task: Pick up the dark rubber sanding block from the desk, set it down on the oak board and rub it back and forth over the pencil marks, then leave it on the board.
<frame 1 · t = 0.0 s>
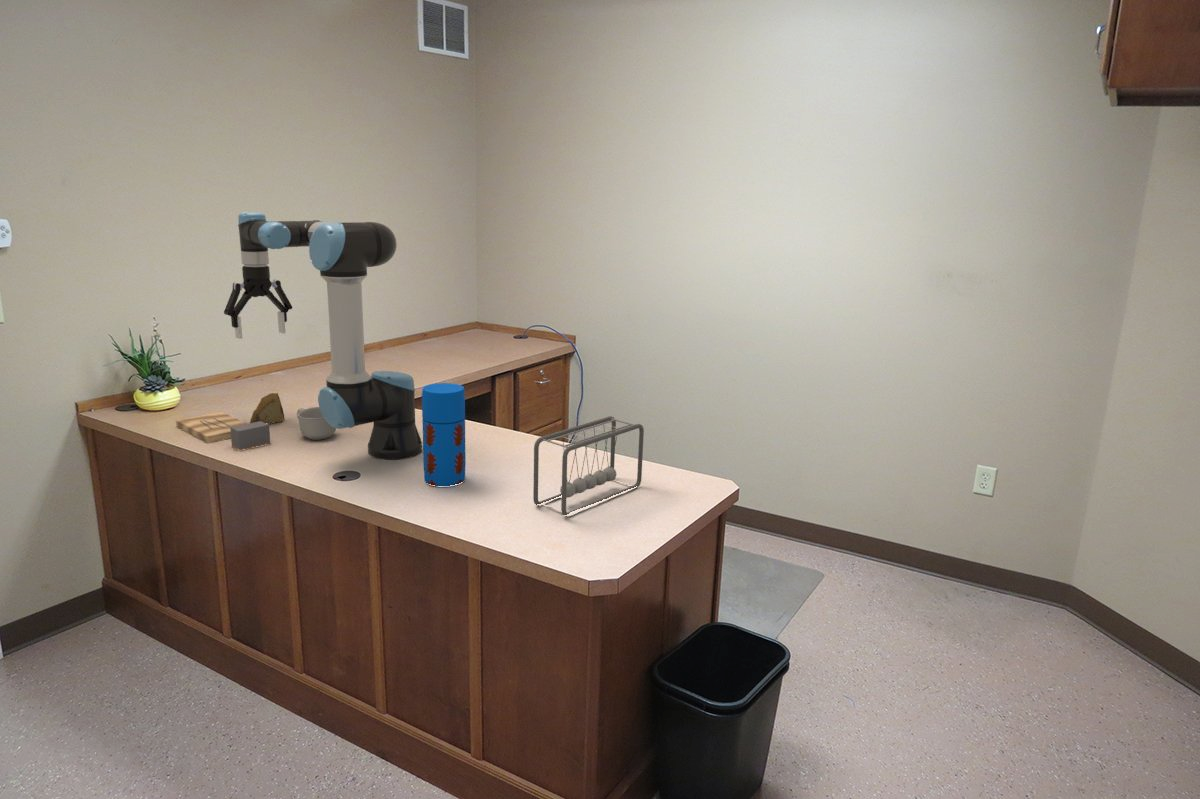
hand: (261, 335, 250), 28 cm above the table, tool pointing down, fingers open, 13 cm apart
newton's cradle: (589, 497, 207), on the table
sanding block: (251, 445, 237), on the table
teacup: (315, 436, 247), on the table
rock: (267, 423, 258), on the table
board: (215, 429, 249), on the table
thermos: (445, 480, 215), on the table
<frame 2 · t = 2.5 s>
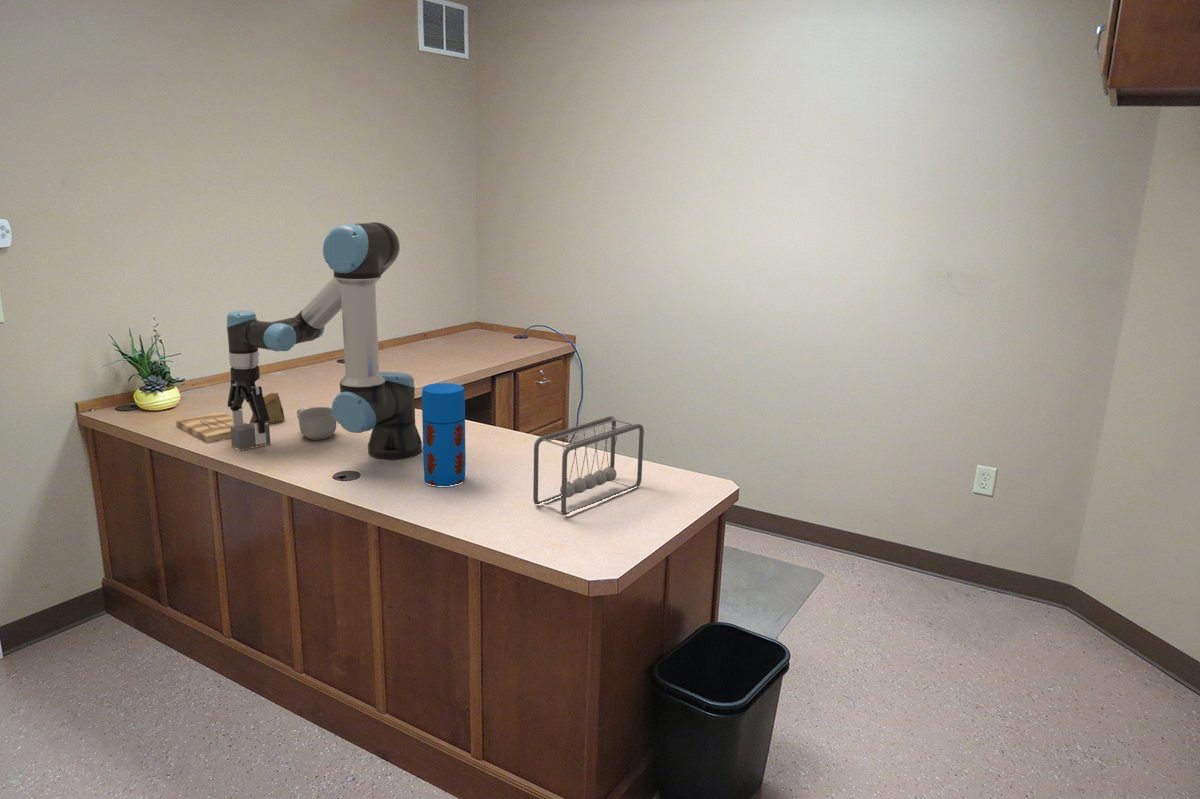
hand: (249, 437, 236), 2 cm above the table, tool pointing down, fingers open, 13 cm apart
nothing on the table moved.
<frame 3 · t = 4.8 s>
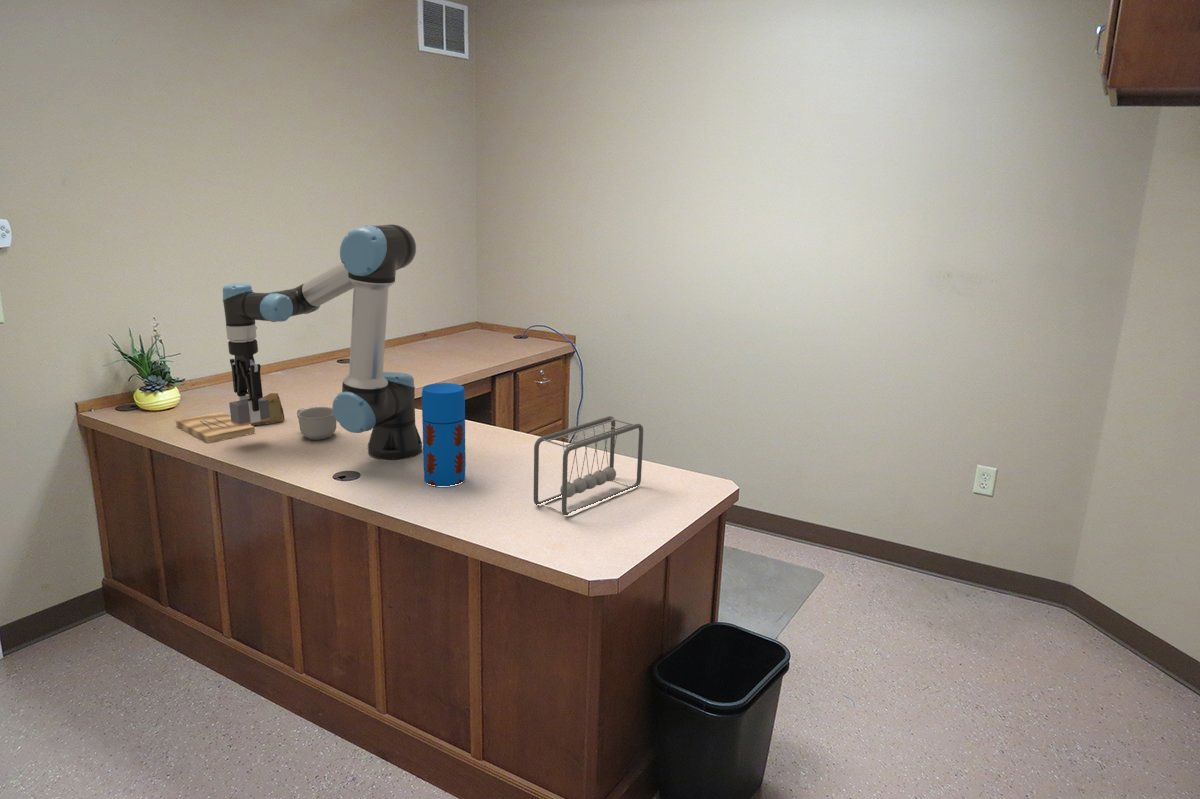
hand: (250, 419, 234), 8 cm above the table, tool pointing down, fingers closed on sanding block, 5 cm apart
sanding block: (251, 421, 234), point 7 cm above the table, touching gripper
everything else where it was.
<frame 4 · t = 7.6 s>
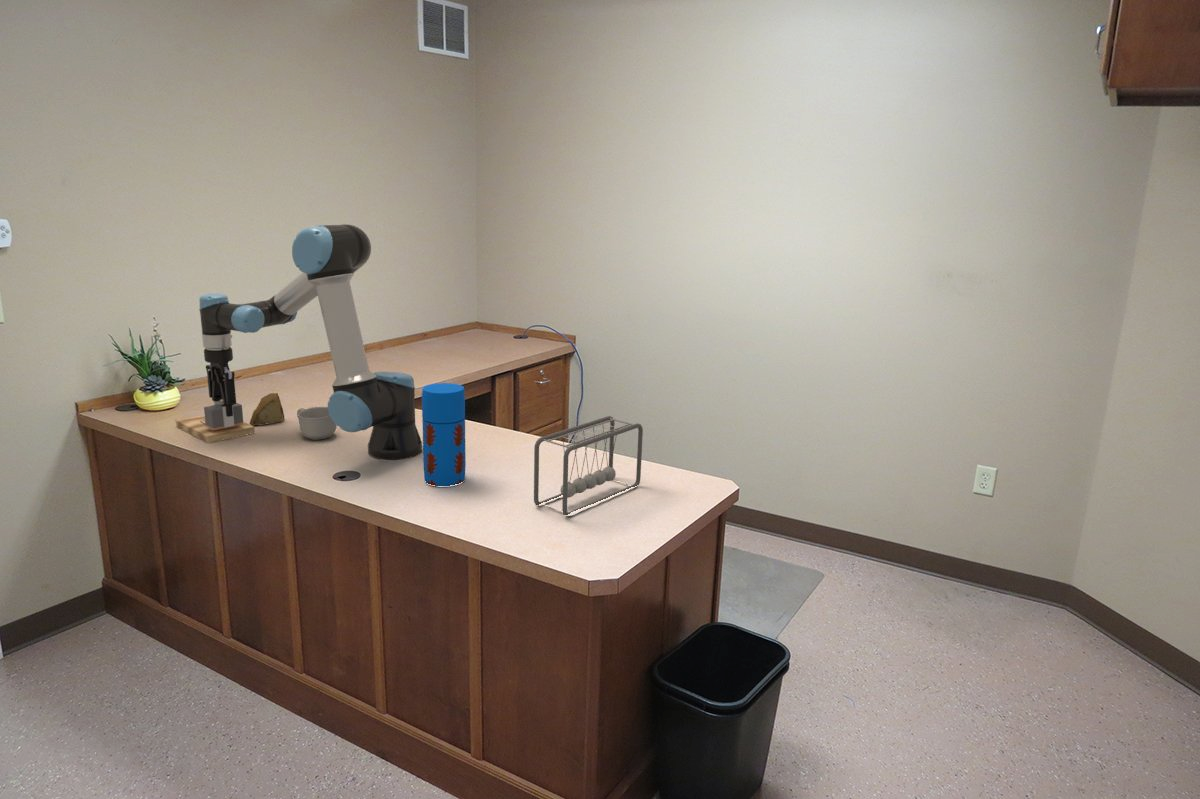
hand: (224, 424, 244), 3 cm above the table, tool pointing down, fingers closed on sanding block, 5 cm apart
sanding block: (224, 425, 244), point 3 cm above the table, touching gripper
everything else where it was.
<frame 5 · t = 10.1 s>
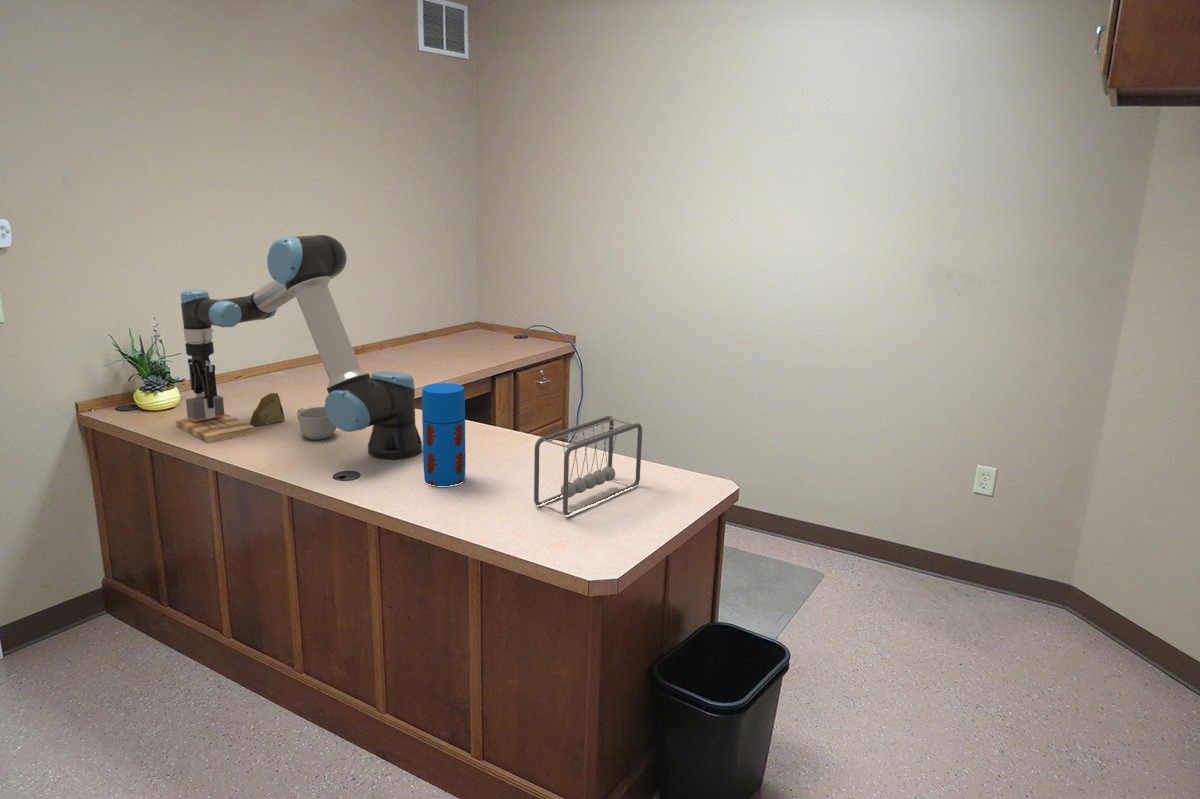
hand: (206, 415, 252), 3 cm above the table, tool pointing down, fingers closed on sanding block, 5 cm apart
sanding block: (206, 417, 252), point 3 cm above the table, touching gripper
everything else where it was.
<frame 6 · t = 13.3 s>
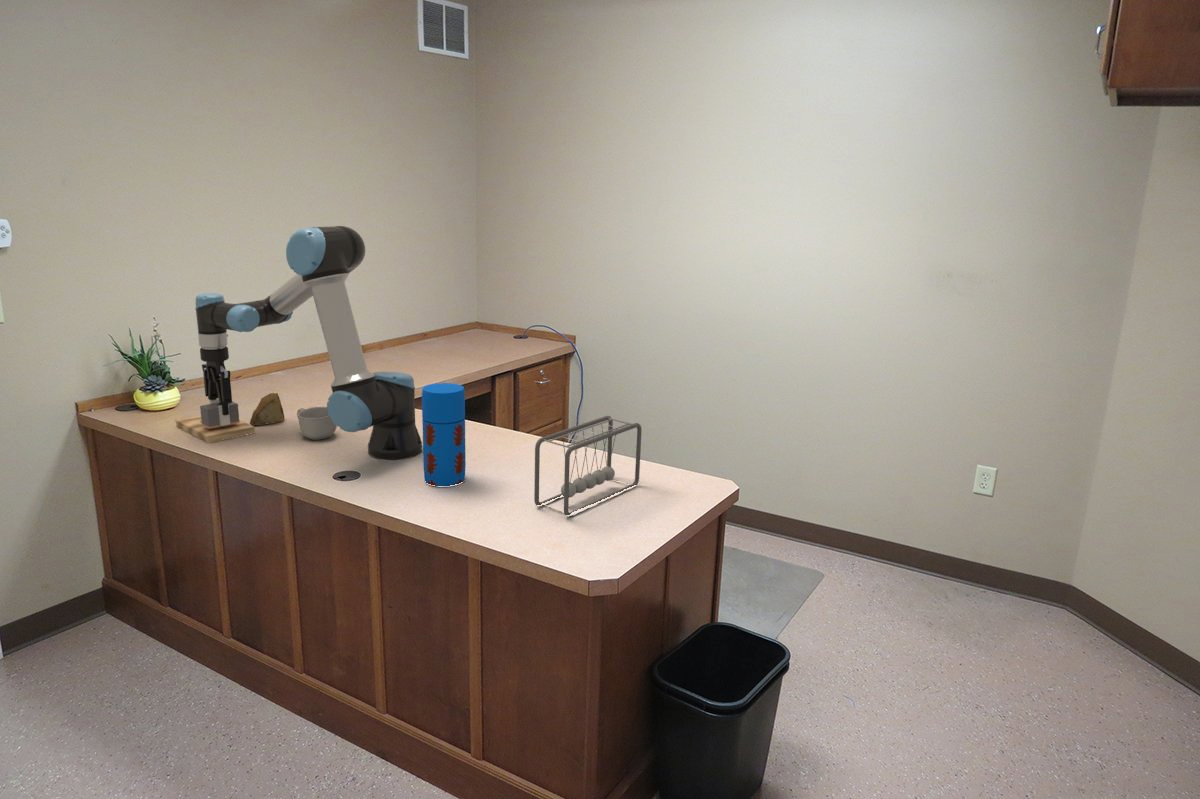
hand: (220, 422, 246), 3 cm above the table, tool pointing down, fingers closed on sanding block, 5 cm apart
sanding block: (220, 424, 246), point 3 cm above the table, touching gripper
everything else where it was.
when the fingers open (3 cm above the table, at t = 15.8 s): sanding block stays where it is, resting on board.
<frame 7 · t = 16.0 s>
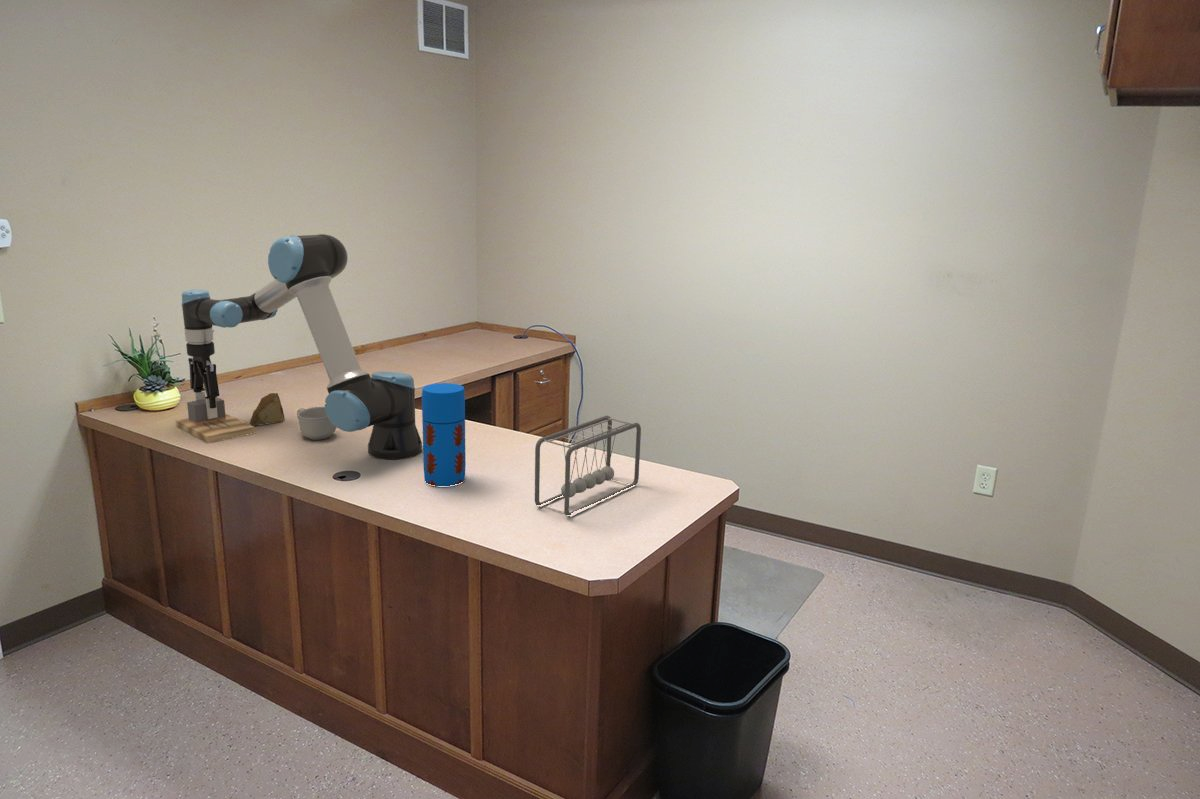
hand: (207, 415, 251), 4 cm above the table, tool pointing down, fingers open, 7 cm apart
sanding block: (207, 420, 252), point 2 cm above the table, touching board
everything else where it was.
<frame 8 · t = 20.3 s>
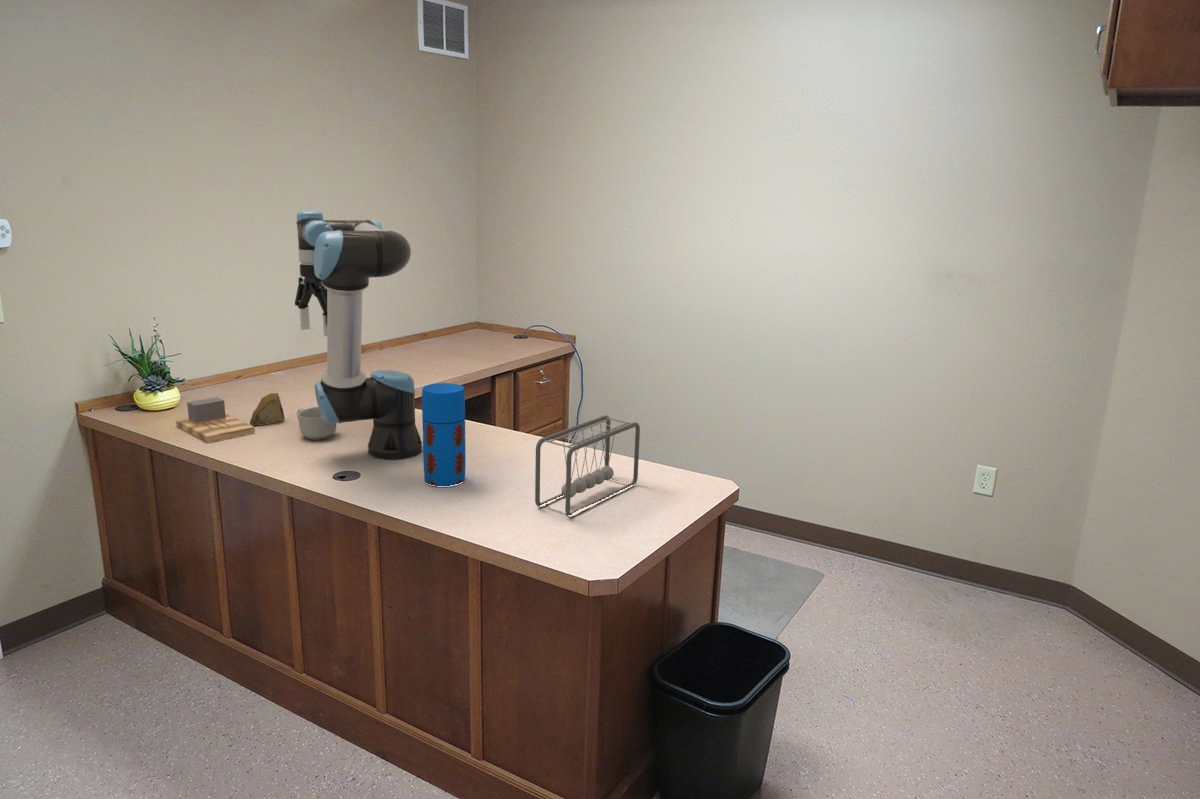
hand: (316, 332, 254), 29 cm above the table, tool pointing down, fingers open, 13 cm apart
nothing on the table moved.
at the end: sanding block inside the target area on the board (4.9 cm from its centre), point 2.0 cm above the board's base; sanding block moved 26.0 cm from its start; the gripper is holding nothing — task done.
